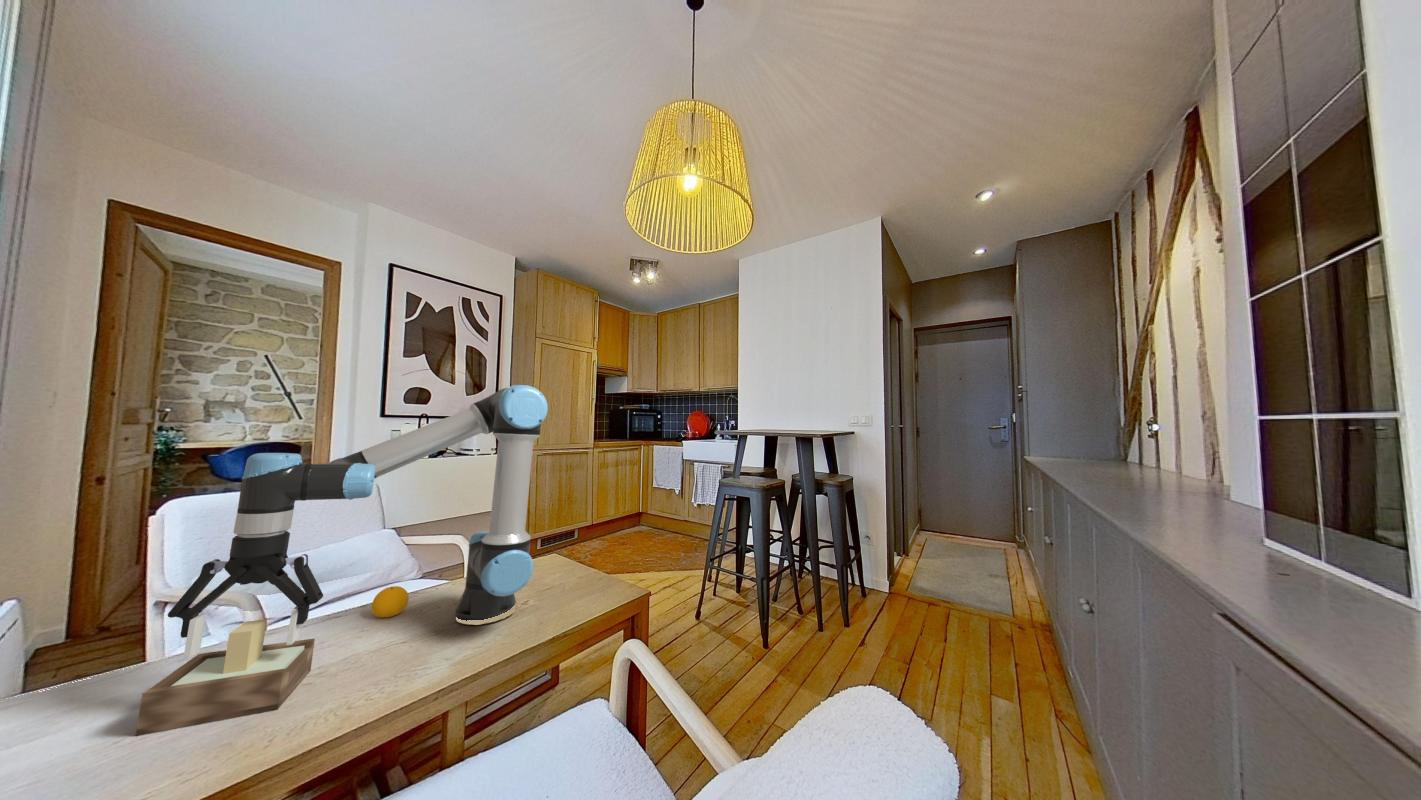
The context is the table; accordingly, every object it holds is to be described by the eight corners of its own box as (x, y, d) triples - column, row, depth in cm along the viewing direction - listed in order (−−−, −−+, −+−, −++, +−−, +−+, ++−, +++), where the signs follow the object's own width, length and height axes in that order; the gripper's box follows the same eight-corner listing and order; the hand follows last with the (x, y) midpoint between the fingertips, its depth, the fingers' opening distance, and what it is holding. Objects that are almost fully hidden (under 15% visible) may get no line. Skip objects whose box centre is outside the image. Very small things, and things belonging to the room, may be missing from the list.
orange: (410, 607, 115) (413, 580, 116) (402, 619, 108) (405, 590, 109) (376, 610, 112) (379, 583, 113) (365, 623, 105) (368, 593, 106)
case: (310, 670, 84) (314, 638, 85) (277, 709, 72) (282, 671, 73) (192, 689, 77) (198, 653, 77) (135, 736, 65) (142, 693, 66)
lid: (304, 649, 83) (309, 610, 83) (279, 675, 74) (285, 631, 75) (206, 663, 77) (213, 620, 77) (166, 693, 68) (174, 645, 69)
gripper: (352, 525, 86) (337, 628, 84) (183, 531, 76) (161, 649, 73) (338, 533, 80) (322, 645, 78) (150, 541, 69) (126, 671, 67)
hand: (244, 647), depth 76 cm, fingers open, 13 cm apart
